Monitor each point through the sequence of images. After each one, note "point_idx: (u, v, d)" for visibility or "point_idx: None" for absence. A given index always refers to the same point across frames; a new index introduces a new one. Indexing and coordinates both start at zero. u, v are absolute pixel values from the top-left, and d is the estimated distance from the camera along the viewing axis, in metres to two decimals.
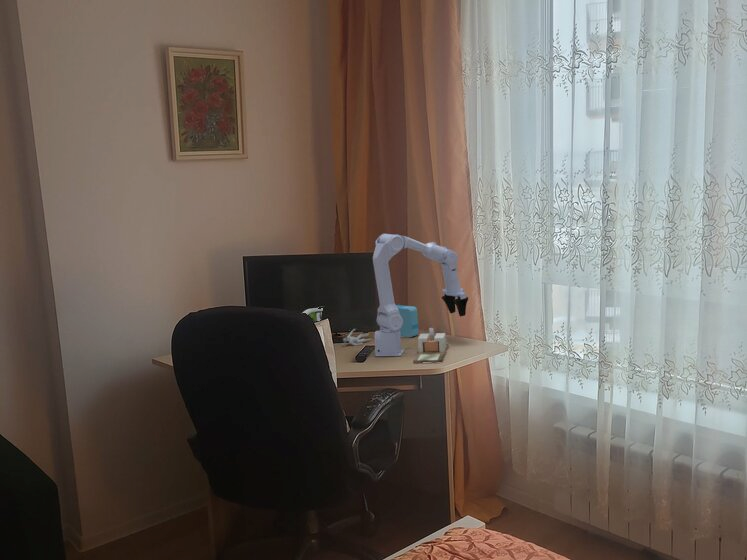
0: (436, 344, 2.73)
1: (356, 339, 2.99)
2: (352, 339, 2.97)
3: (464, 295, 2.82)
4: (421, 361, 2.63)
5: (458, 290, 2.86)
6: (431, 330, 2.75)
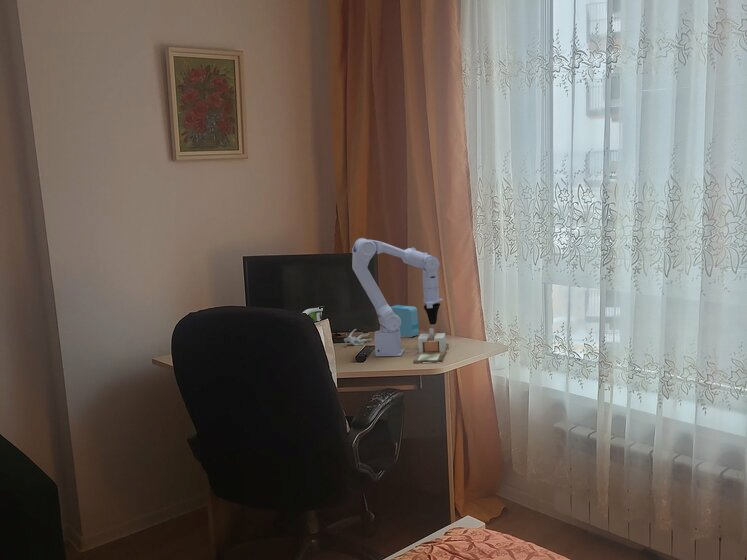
0: (436, 344, 2.73)
1: (357, 339, 2.98)
2: (353, 339, 2.97)
3: (430, 305, 2.73)
4: (421, 361, 2.63)
5: (432, 299, 2.77)
6: (431, 330, 2.75)
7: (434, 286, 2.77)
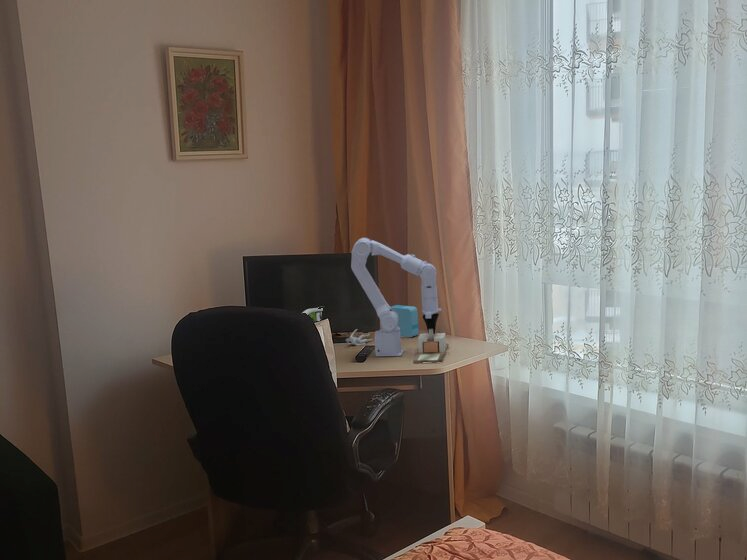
0: (436, 345, 2.72)
1: (358, 339, 2.98)
2: (355, 339, 2.96)
3: (429, 315, 2.69)
4: (421, 361, 2.63)
5: (431, 309, 2.73)
6: (431, 331, 2.74)
7: (430, 296, 2.72)
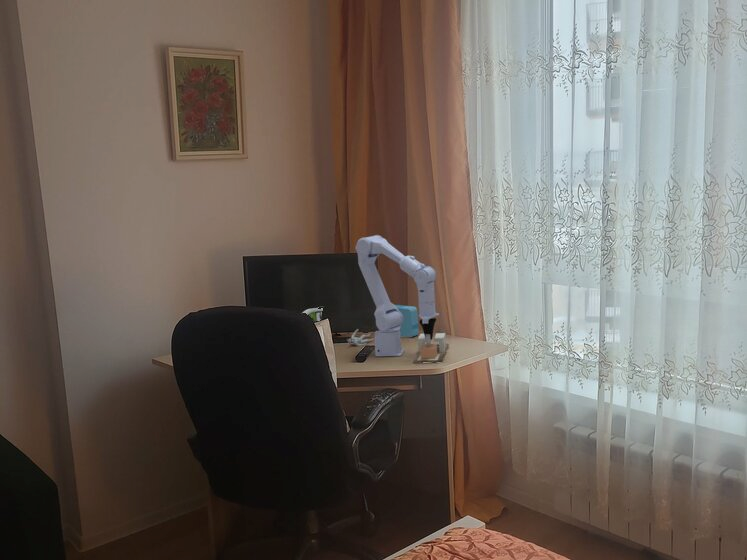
0: (433, 351, 2.64)
1: (360, 339, 2.97)
2: (356, 340, 2.96)
3: (426, 320, 2.60)
4: (421, 361, 2.63)
5: (428, 314, 2.64)
6: (428, 336, 2.65)
7: (423, 301, 2.64)
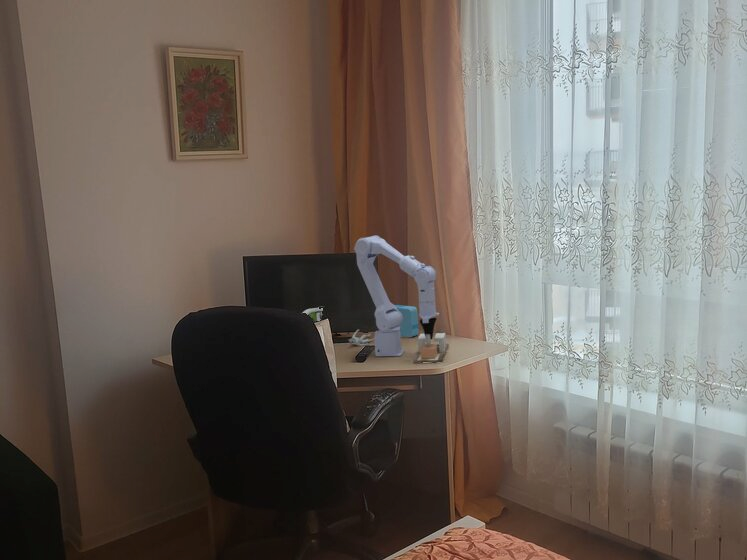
0: (433, 351, 2.63)
1: (361, 340, 2.97)
2: (357, 340, 2.95)
3: (426, 319, 2.61)
4: (421, 361, 2.63)
5: (428, 313, 2.65)
6: (428, 336, 2.65)
7: (424, 300, 2.65)
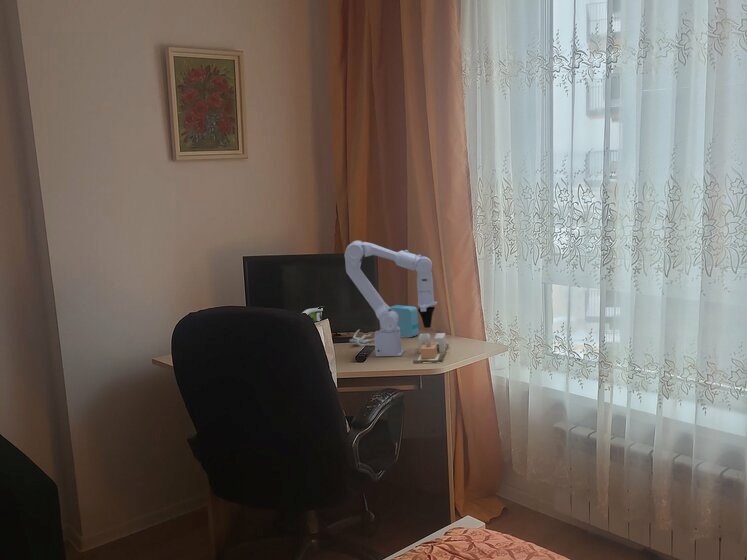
0: (433, 351, 2.63)
1: (361, 340, 2.97)
2: (358, 340, 2.95)
3: (424, 308, 2.68)
4: (421, 361, 2.63)
5: (426, 302, 2.72)
6: (428, 336, 2.65)
7: (426, 289, 2.71)
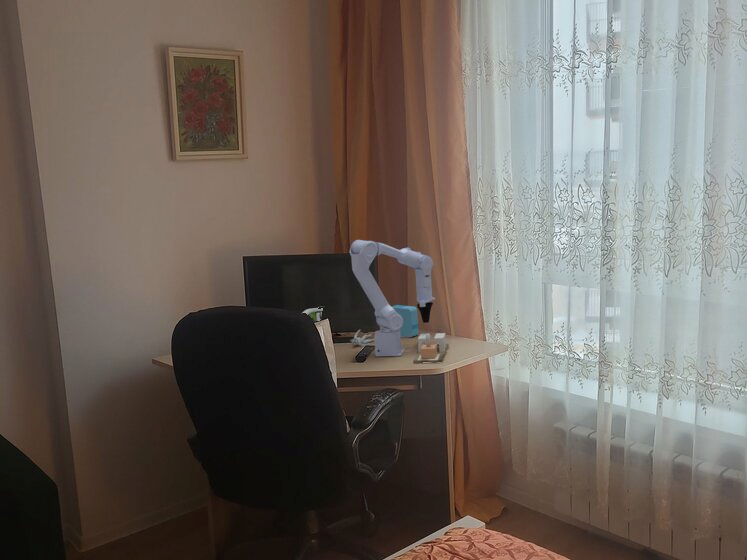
0: (433, 351, 2.63)
1: (362, 340, 2.97)
2: (360, 340, 2.95)
3: (423, 303, 2.77)
4: (421, 361, 2.63)
5: (425, 298, 2.81)
6: (428, 336, 2.65)
7: (428, 285, 2.81)
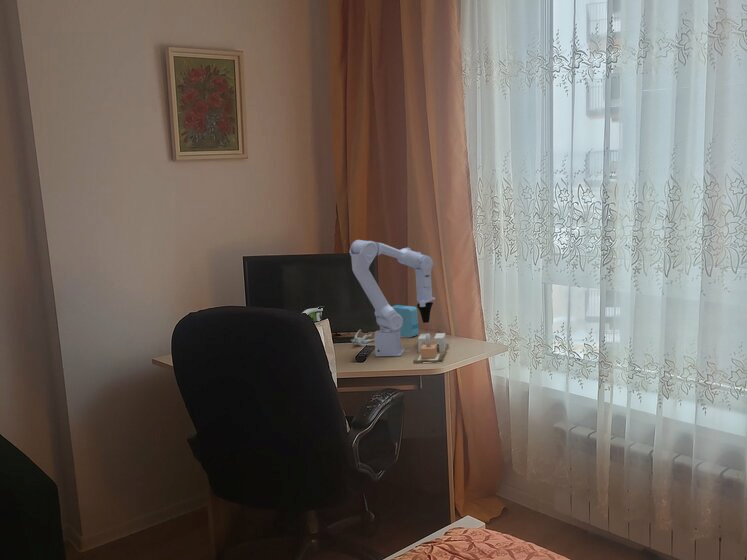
0: (433, 351, 2.63)
1: (363, 340, 2.96)
2: (360, 340, 2.95)
3: (423, 303, 2.77)
4: (421, 361, 2.63)
5: (425, 298, 2.81)
6: (428, 336, 2.65)
7: (428, 285, 2.81)
